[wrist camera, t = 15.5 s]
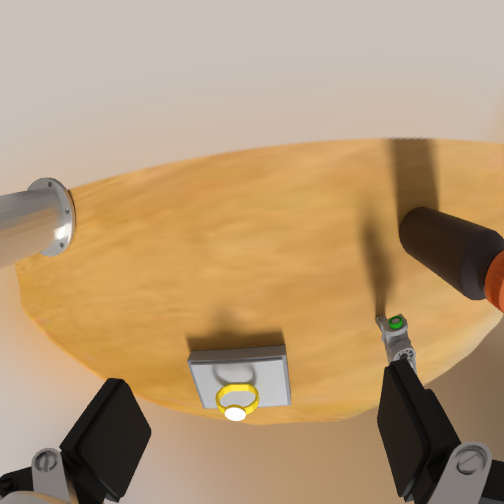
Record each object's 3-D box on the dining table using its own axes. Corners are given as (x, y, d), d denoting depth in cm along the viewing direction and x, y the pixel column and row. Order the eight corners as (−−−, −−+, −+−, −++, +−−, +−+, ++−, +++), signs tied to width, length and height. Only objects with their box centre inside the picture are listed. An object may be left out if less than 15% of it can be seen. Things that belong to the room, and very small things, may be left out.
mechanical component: (382, 284, 37) (410, 319, 27) (395, 342, 39) (418, 382, 30) (362, 292, 37) (386, 329, 28) (377, 349, 40) (398, 391, 30)
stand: (206, 398, 45) (203, 410, 42) (191, 350, 42) (186, 362, 39) (290, 394, 43) (291, 406, 40) (285, 344, 40) (285, 356, 38)
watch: (258, 377, 39) (258, 406, 33) (260, 391, 40) (260, 419, 34) (216, 380, 39) (211, 408, 34) (219, 393, 40) (215, 421, 34)
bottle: (445, 215, 34) (548, 256, 14) (430, 261, 35) (520, 329, 16) (407, 199, 34) (510, 233, 14) (391, 249, 36) (477, 319, 16)
